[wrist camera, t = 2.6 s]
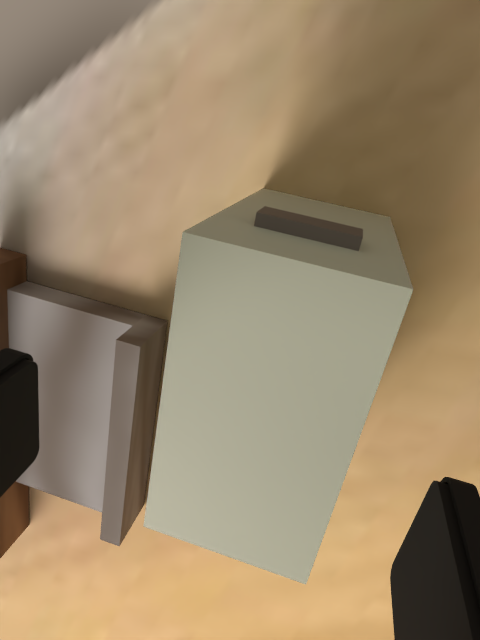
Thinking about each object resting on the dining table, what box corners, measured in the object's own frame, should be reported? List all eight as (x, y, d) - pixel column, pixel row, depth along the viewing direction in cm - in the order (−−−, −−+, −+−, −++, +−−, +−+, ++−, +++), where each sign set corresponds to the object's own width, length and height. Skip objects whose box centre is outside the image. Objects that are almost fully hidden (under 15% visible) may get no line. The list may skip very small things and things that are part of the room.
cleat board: (171, 294, 23) (135, 323, 19) (135, 564, 31) (106, 620, 28) (-1, 247, 24) (-64, 267, 21) (9, 517, 33) (-35, 564, 29)
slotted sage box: (392, 207, 19) (419, 272, 10) (328, 410, 23) (305, 584, 14) (265, 178, 20) (184, 215, 11) (225, 380, 24) (143, 526, 15)
